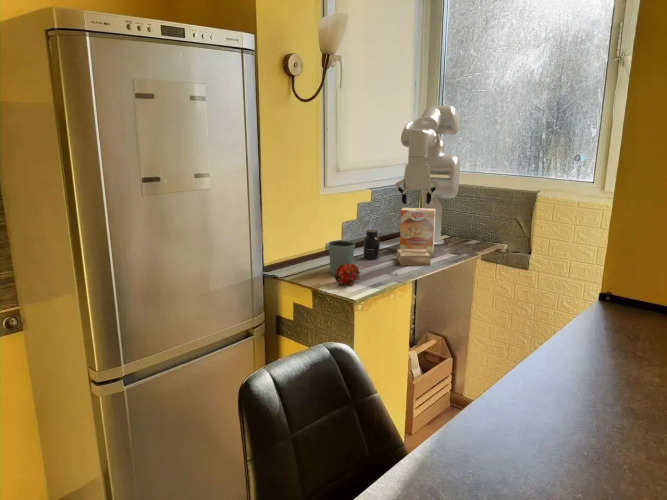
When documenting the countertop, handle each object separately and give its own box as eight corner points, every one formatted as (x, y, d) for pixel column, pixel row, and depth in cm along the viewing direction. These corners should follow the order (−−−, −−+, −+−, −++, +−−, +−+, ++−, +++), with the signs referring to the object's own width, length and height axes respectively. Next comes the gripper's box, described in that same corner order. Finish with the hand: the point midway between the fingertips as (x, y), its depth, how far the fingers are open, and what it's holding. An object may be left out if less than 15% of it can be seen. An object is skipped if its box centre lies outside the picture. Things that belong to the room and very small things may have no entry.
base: (396, 258, 226) (397, 248, 225) (424, 257, 226) (424, 248, 225) (401, 265, 214) (401, 255, 213) (430, 265, 215) (430, 255, 214)
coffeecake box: (399, 252, 236) (400, 209, 232) (401, 248, 243) (402, 207, 238) (433, 254, 233) (434, 210, 228) (433, 250, 240) (435, 208, 235)
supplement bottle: (368, 260, 222) (368, 233, 219) (360, 257, 228) (360, 230, 225) (382, 258, 225) (382, 231, 222) (374, 255, 231) (374, 228, 228)
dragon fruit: (359, 284, 195) (339, 296, 187) (343, 268, 198) (323, 280, 189) (368, 269, 190) (348, 281, 181) (352, 253, 192) (332, 265, 184)
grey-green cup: (325, 270, 208) (325, 241, 205) (348, 268, 211) (348, 239, 208) (334, 277, 198) (334, 246, 195) (358, 274, 202) (358, 244, 199)
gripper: (436, 160, 212) (434, 202, 216) (394, 160, 211) (393, 202, 215) (441, 161, 205) (439, 204, 209) (398, 161, 204) (396, 205, 208)
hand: (416, 203), depth 212 cm, fingers open, 9 cm apart
